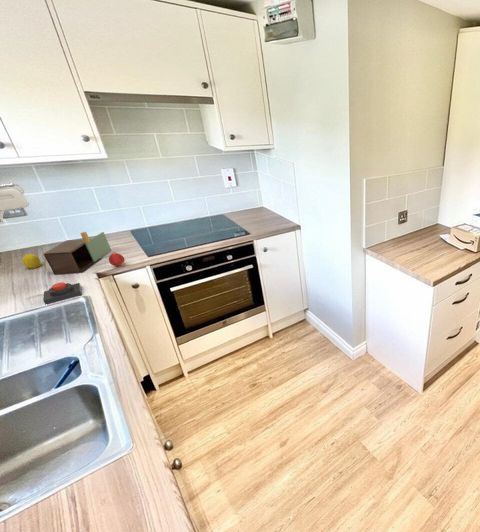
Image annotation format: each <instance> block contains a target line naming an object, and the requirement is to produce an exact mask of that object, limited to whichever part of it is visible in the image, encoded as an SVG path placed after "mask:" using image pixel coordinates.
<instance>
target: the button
mask: <svg viewBox="0 0 480 532" xmlns="http://www.w3.org/2000/svg"><path fill="white" fill-rule="evenodd" d="M65 283H66V282H63V281H61V282H57V283H54V284H52V285H51V287H52V288H53V290H54V291H55V290H61V289H64V288H66V287H67V286H66V284H65Z"/></svg>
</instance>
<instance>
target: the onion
mask: <svg viewBox="0 0 480 532" xmlns="http://www.w3.org/2000/svg"><path fill="white" fill-rule="evenodd" d="M125 259H126V258H125V257H124V255H122V254H120V253H117V252H116V251H113V252H112V253H111V254H110V255H109V256H108V262H109V264H110V265H112V266H114V267H122V266H123V264H124V263H125Z"/></svg>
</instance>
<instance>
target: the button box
mask: <svg viewBox="0 0 480 532" xmlns="http://www.w3.org/2000/svg"><path fill="white" fill-rule="evenodd" d="M64 283H65V284H66V286H67V287H66V288H64V289H61V290H55V291H54V290H53V288H52V286H51V287H50V288H48V290H44V291H43V296H42V297H43V298H42V301H43V303H44V305H45V306H46V304H47V305H51V304H55V303H58V302H62V301H66V300H69V299H73V298H76V297H81V296H83V288H82V285H81V283H80V282H77V283H73V284H72V283H68V282H64Z"/></svg>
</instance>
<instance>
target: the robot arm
mask: <svg viewBox="0 0 480 532" xmlns="http://www.w3.org/2000/svg"><path fill="white" fill-rule="evenodd" d="M24 193H25V192H24V189H23V187H22V186H21V185H20V184H17V183H12V182H11V183H2V184H0V223H5V220H4V217H3V216H4V213H5V211H7V210H16V209H23V208H28V207H29V205H30V201H29V200H28V198H27V197H26V196H25V194H24Z"/></svg>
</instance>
